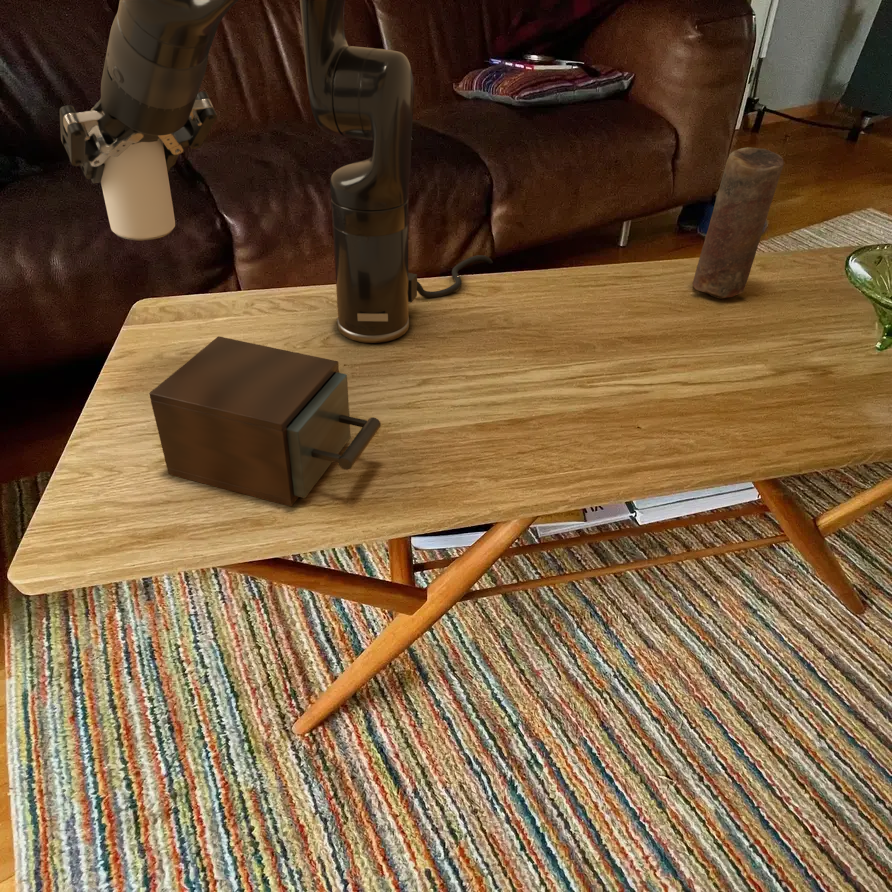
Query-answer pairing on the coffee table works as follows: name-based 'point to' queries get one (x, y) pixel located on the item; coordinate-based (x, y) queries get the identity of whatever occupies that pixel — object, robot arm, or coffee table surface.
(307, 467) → the drawer
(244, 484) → the cabinet
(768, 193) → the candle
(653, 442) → the coffee table surface
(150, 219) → the can
